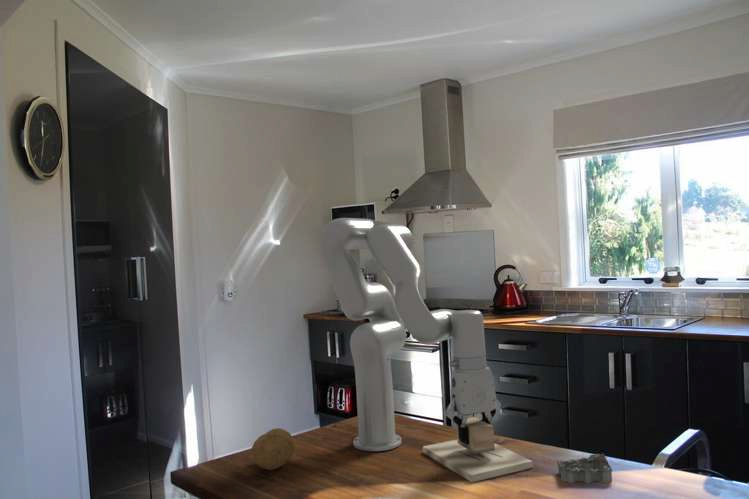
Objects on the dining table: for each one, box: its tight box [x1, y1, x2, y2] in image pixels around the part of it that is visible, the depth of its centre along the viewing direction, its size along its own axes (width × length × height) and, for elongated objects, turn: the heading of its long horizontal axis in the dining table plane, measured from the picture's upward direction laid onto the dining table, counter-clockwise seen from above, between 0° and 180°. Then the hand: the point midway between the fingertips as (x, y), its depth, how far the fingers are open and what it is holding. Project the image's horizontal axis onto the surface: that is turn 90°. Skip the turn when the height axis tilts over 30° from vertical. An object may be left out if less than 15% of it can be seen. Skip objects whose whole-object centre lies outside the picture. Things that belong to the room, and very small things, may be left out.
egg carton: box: [556, 453, 613, 484], centre depth 125 cm, size 11×8×4 cm
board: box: [422, 438, 534, 483], centre depth 138 cm, size 22×16×2 cm
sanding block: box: [455, 416, 496, 454], centre depth 138 cm, size 9×5×6 cm, turn 18°
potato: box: [251, 427, 296, 471], centre depth 141 cm, size 10×14×8 cm
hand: (475, 439), depth 138 cm, fingers closed on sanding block, 5 cm apart
